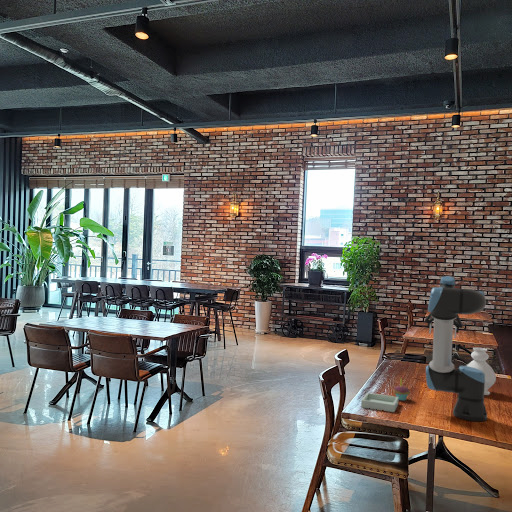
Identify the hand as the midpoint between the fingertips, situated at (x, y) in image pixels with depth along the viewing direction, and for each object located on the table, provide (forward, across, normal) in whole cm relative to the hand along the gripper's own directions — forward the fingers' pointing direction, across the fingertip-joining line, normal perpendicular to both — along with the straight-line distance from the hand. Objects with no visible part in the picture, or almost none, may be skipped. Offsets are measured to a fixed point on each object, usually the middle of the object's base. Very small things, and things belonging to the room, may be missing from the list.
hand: (442, 334), depth 295 cm
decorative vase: (+31, -23, +6) cm, 39 cm away
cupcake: (+17, +15, +43) cm, 49 cm away
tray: (+9, +24, +60) cm, 65 cm away
